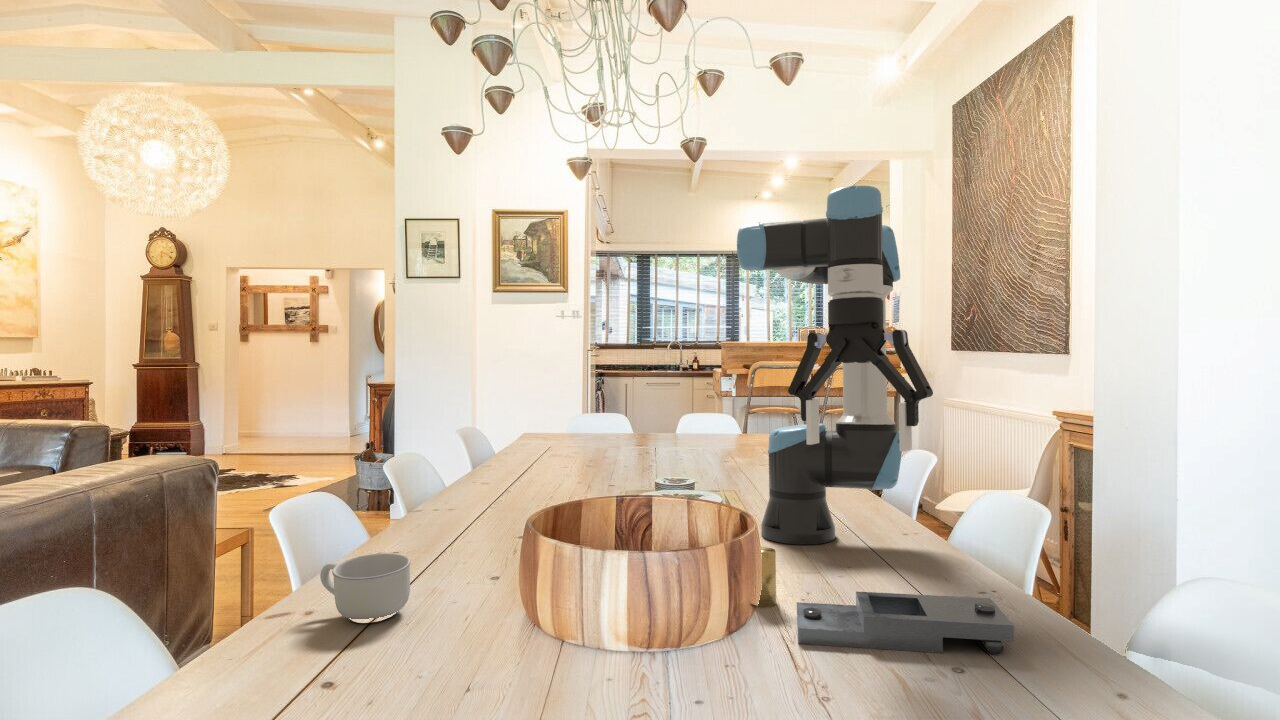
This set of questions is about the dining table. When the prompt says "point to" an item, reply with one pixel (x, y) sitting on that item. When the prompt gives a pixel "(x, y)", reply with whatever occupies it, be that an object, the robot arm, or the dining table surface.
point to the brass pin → (768, 578)
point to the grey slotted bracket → (904, 622)
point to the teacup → (369, 585)
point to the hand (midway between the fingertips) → (857, 447)
